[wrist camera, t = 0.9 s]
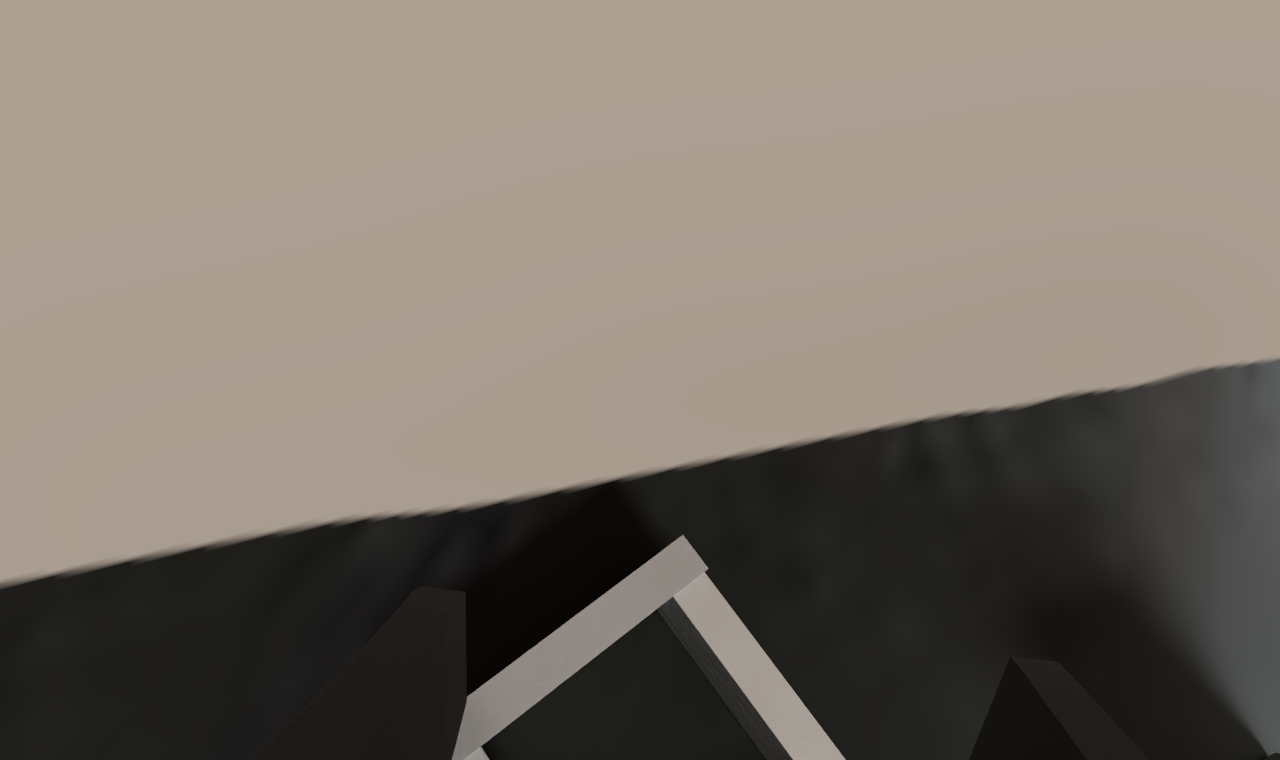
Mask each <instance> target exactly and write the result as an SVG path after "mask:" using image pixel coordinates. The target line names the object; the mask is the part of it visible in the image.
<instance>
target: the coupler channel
mask: <svg viewBox="0 0 1280 760" xmlns="http://www.w3.org/2000/svg"><path fill="white" fill-rule="evenodd" d="M707 569H708V567H707V566H706V565H705V563H704V562H703V561H702V559H701V558H700V557H699V555H698V554H697V553H696V551H695V550H694V549H693V548H692V546H691V545H690V544H689V542H688V541H687V540H686V538H685V537H684V536H683V535H682V536H681V537H680V538H678V539H677V540H676V541H674V542H673V543H672V544H670V545H669V546H668V547H666V548H665V549H664V550H662V551H661V552H660V553H658V554H657V555H656V556H654V557H653V558H652V559H650V560H649V561H648V562H646V563H645V564H644V565H642V566H641V567H640V568H638V569H637V570H636V571H634V572H633V573H632V574H630V575H629V576H628V577H626V578H625V579H623V580H622V581H621V582H619V583H618V584H617V585H615V586H614V587H613V588H611V589H610V590H609V591H607V592H606V593H605V594H603V595H602V596H601V597H599V598H598V599H597V600H595V601H594V602H593V603H591V604H590V605H589V606H587V607H586V608H585V609H583V610H582V611H581V612H579V613H578V614H577V615H575V616H574V617H573V618H571V619H570V620H569V621H567V622H566V623H565V624H563V625H562V626H561V627H559V628H558V629H557V630H555V631H554V632H553V633H551V634H550V635H549V636H547V637H546V638H545V639H543V640H542V641H541V642H539V643H538V644H537V645H535V646H534V647H533V648H531V649H530V650H529V651H527V652H526V653H525V654H523V655H522V656H521V657H519V658H518V659H517V660H515V661H514V662H513V663H511V664H510V665H509V666H507V667H506V668H505V669H503V670H502V671H501V672H499V673H498V674H497V675H495V676H494V677H493V678H491V679H490V680H489V681H487V682H486V683H485V684H483V685H482V686H481V687H479V688H478V689H477V690H475V691H474V692H473V693H471V694H470V695H469V696H467V703H466V707H465V710H464V714H463V718H462V722H461V726H460V730H459V734H458V738H457V742H456V746H455V750H454V753H453V757H452V760H490V759H489V758H488V756H487V755H486V753H485V751H484V750H483V748H482V747H481V746H482V745H483V744H485V743H486V742H487V741H488V740H490V739H491V738H492V737H493V736H495V735H496V734H497V733H499V732H500V731H501V730H502V729H504V728H505V727H506V726H508V725H509V724H510V723H511V722H513V721H514V720H515V719H517V718H518V717H519V716H520V715H522V714H523V713H524V712H525V711H527V710H528V709H529V708H531V707H532V706H533V705H534V704H536V703H537V702H538V701H540V700H541V699H542V698H543V697H545V696H546V695H547V694H549V693H550V692H551V691H552V690H554V689H555V688H556V687H557V686H559V685H560V684H561V683H563V682H564V681H565V680H566V679H568V678H569V677H570V676H572V675H573V674H574V673H575V672H577V671H578V670H579V669H581V668H582V667H583V666H584V665H586V664H587V663H588V662H590V661H591V660H592V659H593V658H595V657H596V656H597V655H598V654H600V653H601V652H602V651H604V650H605V649H606V648H607V647H609V646H610V645H611V644H613V643H614V642H615V641H616V640H618V639H619V638H620V637H622V636H623V635H624V634H625V633H627V632H628V631H629V630H630V629H632V628H633V627H634V626H636V625H637V624H638V623H639V622H641V621H642V620H643V619H645V618H646V617H647V616H648V615H650V614H651V613H652V612H654V611H655V610H656V609H657V610H658V612H659V613H660V614H661V616H662V617H663V618H664V620H665V621H666V623H667V624H668V625H669V627H670V628H671V629H672V631H673V632H674V634H675V635H676V636H677V638H678V639H679V640H680V642H681V643H682V645H683V646H684V647H685V649H686V650H687V652H688V653H689V654H690V656H691V657H692V658H693V660H694V661H695V663H696V664H697V665H698V667H699V668H700V669H701V671H702V672H703V674H704V675H705V676H706V678H707V679H708V680H709V682H710V683H711V685H712V686H713V687H714V689H715V690H716V691H717V693H718V694H719V696H720V697H721V698H722V700H723V701H724V702H725V704H726V705H727V707H728V708H729V709H730V711H731V712H732V713H733V715H734V716H735V718H736V719H737V720H738V722H739V723H740V724H741V726H742V727H743V729H744V730H745V731H746V733H747V734H748V735H749V737H750V738H751V740H752V741H753V742H754V744H755V745H756V746H757V748H758V749H759V751H760V752H761V753H762V755H763V756H764V757H765V759H766V760H845V758H844V757H843V756H842V754H841V753H840V752H839V750H838V749H837V748H836V746H835V745H834V744H833V742H832V741H831V740H830V738H829V737H828V736H827V734H826V733H825V732H824V730H823V729H822V728H821V726H820V725H819V724H818V723H817V721H816V720H815V719H814V717H813V716H812V715H811V713H810V712H809V711H808V709H807V708H806V707H805V705H804V704H803V703H802V701H801V700H800V699H799V697H798V696H797V695H796V693H795V692H794V691H793V689H792V688H791V687H790V685H789V684H788V683H787V681H786V680H785V679H784V677H783V676H782V675H781V673H780V672H779V671H778V669H777V668H776V667H775V665H774V664H773V663H772V661H771V660H770V659H769V657H768V656H767V655H766V653H765V652H764V651H763V649H762V648H761V647H760V645H759V644H758V643H757V641H756V640H755V639H754V637H753V636H752V635H751V633H750V632H749V631H748V629H747V628H746V627H745V625H744V624H743V623H742V621H741V620H740V619H739V617H738V616H737V615H736V613H735V612H734V611H733V609H732V608H731V607H730V605H729V604H728V603H727V601H726V600H725V599H724V597H723V596H722V595H721V593H720V592H719V591H718V589H717V588H716V587H715V585H714V584H713V583H712V582H711V580H710V579H709V578H708V576H707V575H706V574H705V571H706V570H707Z"/></svg>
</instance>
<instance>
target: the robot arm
mask: <svg viewBox="0 0 1280 760" xmlns="http://www.w3.org/2000/svg"><path fill="white" fill-rule="evenodd" d="M466 703H467V674H466V598H465V592H464V591H456V590H447V589H439V588H431V587H422V586H420V587H419V588H417V589H416V590H414V591H413V592H412V593H411V594H410V595H409V596H408V597H407V599H406V600H405V601H404V602H403V603H402V604H401V606H400V607H399V608H398V609H397V610H396V611H395V612H394V614H393V615H392V616H391V617H390V618H389V619H388V620H387V621H386V623H385V624H384V625H383V626H382V627H381V628H380V629H379V630H378V632H377V633H376V634H375V635H374V636H373V637H372V638H371V639H370V640H369V641H368V642H367V644H366V645H365V646H364V647H363V648H362V649H361V650H360V651H359V652H358V653H357V654H356V655H355V656H354V657H353V659H352V660H351V661H350V662H349V663H348V664H347V665H346V666H345V667H344V668H343V669H342V670H341V671H340V672H339V673H338V674H337V675H336V676H335V677H334V678H333V679H332V680H331V681H330V682H329V683H328V684H327V685H326V686H325V687H324V688H323V689H322V690H321V691H320V692H319V693H318V694H317V695H316V696H315V697H314V698H313V699H312V700H311V701H310V702H309V703H308V704H307V705H306V706H305V707H304V708H303V709H302V710H301V711H300V712H299V713H298V714H297V715H296V716H295V717H294V718H293V719H292V720H291V721H290V722H289V723H288V724H286V725H285V726H284V727H283V728H282V729H281V730H280V731H279V732H278V733H277V734H276V735H275V736H274V737H272V738H271V739H270V740H269V741H268V742H267V743H266V744H265V745H264V746H263V747H262V748H261V749H259V750H258V751H257V752H256V753H255V754H254V755H253V756H252V757H251V758H250V759H249V760H452V757H453V753H454V750H455V746H456V742H457V738H458V734H459V730H460V726H461V722H462V718H463V714H464V710H465V707H466ZM969 760H1150V759H1149V758H1148V757H1147V756H1146V755H1145V754H1144V753H1143V752H1142V750H1141V749H1140V748H1139V747H1138V746H1137V745H1136V744H1135V743H1134V742H1133V741H1132V740H1131V739H1130V738H1129V737H1128V735H1127V734H1126V733H1125V732H1124V731H1123V730H1122V729H1121V728H1120V727H1119V726H1118V725H1117V724H1116V723H1115V721H1114V720H1113V719H1112V718H1111V717H1110V716H1109V715H1108V714H1107V713H1106V712H1105V711H1104V710H1103V709H1102V708H1101V706H1100V705H1099V704H1098V703H1097V702H1096V701H1095V700H1094V699H1093V698H1092V697H1091V696H1090V695H1089V694H1088V692H1087V691H1086V690H1085V689H1084V688H1083V687H1082V686H1081V685H1080V684H1079V683H1078V682H1077V681H1076V680H1075V679H1074V678H1073V677H1072V676H1071V675H1070V674H1069V673H1068V672H1067V671H1066V670H1065V669H1064V667H1063V666H1062V665H1061V664H1060V663H1059V662H1055V661H1047V660H1039V659H1030V658H1022V657H1013V656H1011V657H1010V659H1009V662H1008V664H1007V667H1006V669H1005V672H1004V674H1003V677H1002V679H1001V682H1000V684H999V687H998V689H997V692H996V694H995V697H994V699H993V701H992V704H991V706H990V709H989V711H988V714H987V716H986V719H985V721H984V724H983V726H982V729H981V731H980V734H979V736H978V739H977V741H976V744H975V746H974V749H973V751H972V754H971V756H970V759H969Z"/></svg>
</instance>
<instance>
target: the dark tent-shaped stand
mask: <svg viewBox="0 0 1280 760" xmlns="http://www.w3.org/2000/svg"><path fill="white" fill-rule="evenodd" d="M1262 760H1280V754H1279V753H1274V754H1272V755H1270V756H1268V757H1266V758H1264V759H1262Z"/></svg>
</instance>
